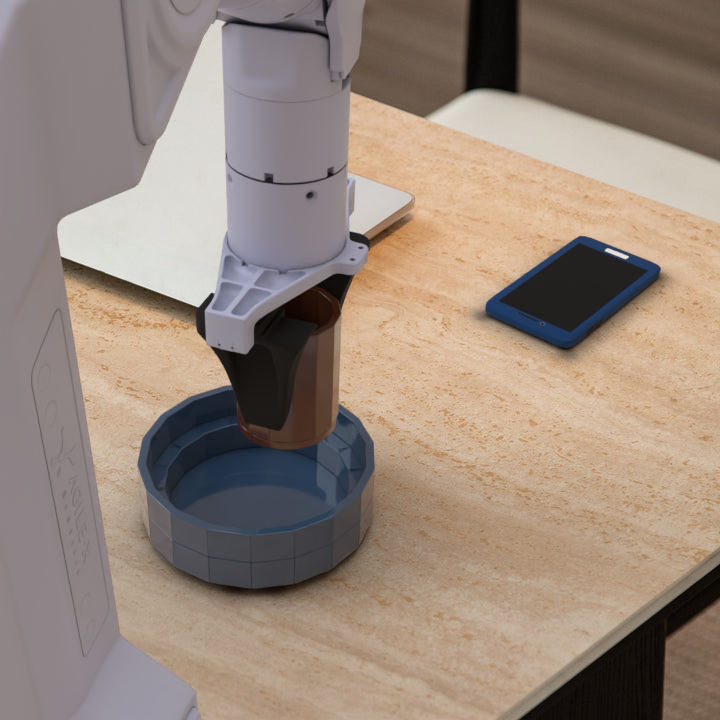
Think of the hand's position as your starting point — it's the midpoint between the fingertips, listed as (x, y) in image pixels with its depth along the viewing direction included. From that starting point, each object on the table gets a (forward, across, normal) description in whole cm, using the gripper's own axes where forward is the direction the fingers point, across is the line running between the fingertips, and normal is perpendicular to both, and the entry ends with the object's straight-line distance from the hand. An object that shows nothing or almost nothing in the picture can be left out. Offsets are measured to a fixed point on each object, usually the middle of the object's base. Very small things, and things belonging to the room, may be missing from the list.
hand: (286, 390), depth 66 cm
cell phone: (+9, +30, -11) cm, 33 cm away
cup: (+2, 0, 0) cm, 2 cm away
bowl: (+9, 0, +2) cm, 10 cm away
